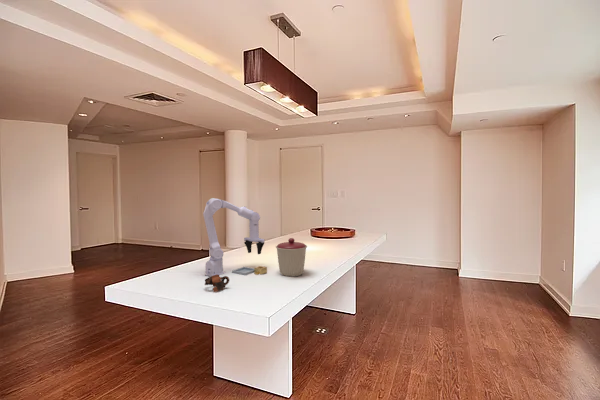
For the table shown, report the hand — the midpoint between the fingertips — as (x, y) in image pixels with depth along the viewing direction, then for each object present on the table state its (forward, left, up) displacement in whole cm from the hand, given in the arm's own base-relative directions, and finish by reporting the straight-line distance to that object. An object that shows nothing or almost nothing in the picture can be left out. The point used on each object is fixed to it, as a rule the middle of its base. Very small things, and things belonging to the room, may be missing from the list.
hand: (254, 253), depth 200 cm
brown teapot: (-40, -10, -10) cm, 42 cm away
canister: (+2, -27, -10) cm, 28 cm away
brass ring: (-7, -11, -9) cm, 16 cm away
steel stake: (-7, -11, -10) cm, 16 cm away
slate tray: (-10, -1, -10) cm, 14 cm away
